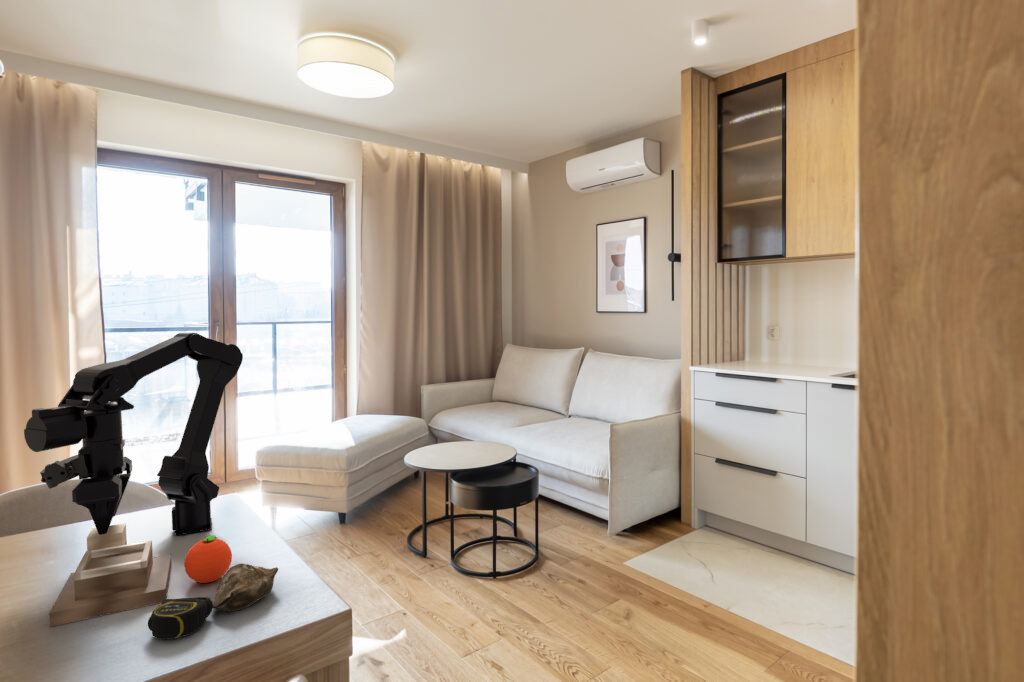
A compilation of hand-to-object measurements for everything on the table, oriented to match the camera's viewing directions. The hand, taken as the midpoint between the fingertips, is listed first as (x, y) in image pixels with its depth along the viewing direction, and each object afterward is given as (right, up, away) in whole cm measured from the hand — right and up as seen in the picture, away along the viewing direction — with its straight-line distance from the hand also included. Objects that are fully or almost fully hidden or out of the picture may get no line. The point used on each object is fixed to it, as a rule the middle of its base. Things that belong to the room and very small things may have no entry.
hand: (107, 525), depth 99 cm
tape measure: (+25, -8, -21) cm, 34 cm away
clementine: (+22, -7, -6) cm, 24 cm away
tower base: (+9, -7, -11) cm, 16 cm away
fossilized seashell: (+31, -8, -13) cm, 35 cm away
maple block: (0, -7, 0) cm, 7 cm away
